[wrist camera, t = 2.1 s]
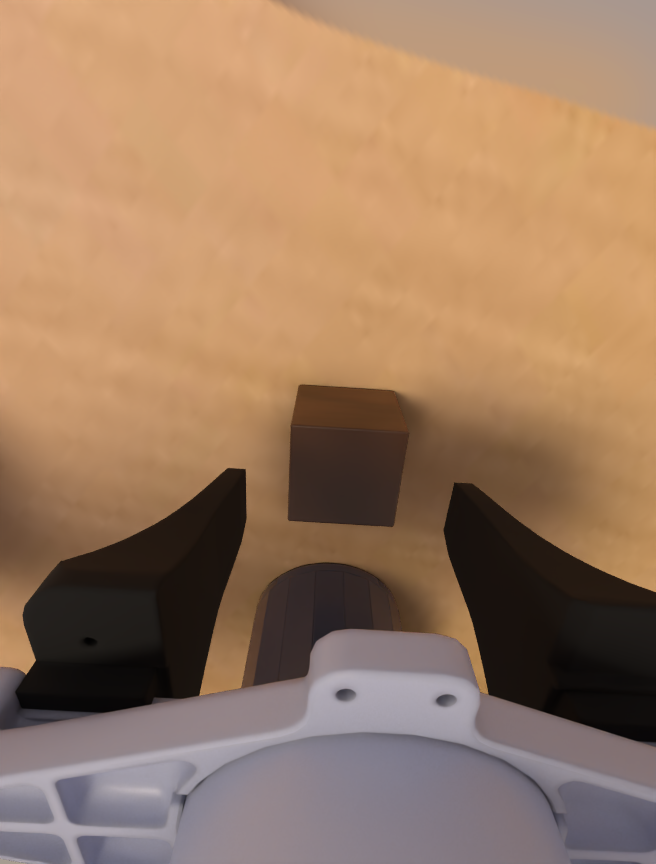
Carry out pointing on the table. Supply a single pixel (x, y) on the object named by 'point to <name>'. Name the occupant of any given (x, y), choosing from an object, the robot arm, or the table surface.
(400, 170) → the table surface
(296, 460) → the block
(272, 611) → the cup
